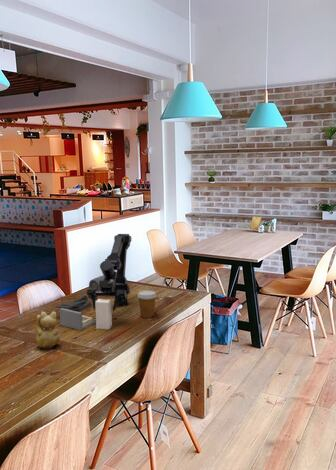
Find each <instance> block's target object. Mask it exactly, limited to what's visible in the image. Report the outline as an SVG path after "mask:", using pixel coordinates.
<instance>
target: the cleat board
mask: <svg viewBox="0 0 336 470" xmlns="http://www.w3.org/2000/svg"><path fill="white" fill-rule="evenodd" d="M59 324H60V326H63V327H66V328H70V329H75V330H78V331H82V330H84V329H86V328H88V327H90V326H92V325H94V324H95V325H96V319H94V318H93V317H91V316H87V315H83V312H82V311H80V312H77V311H72V310H68V309H64V308H59Z"/></svg>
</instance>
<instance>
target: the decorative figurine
mask: <svg viewBox="0 0 336 470" xmlns="http://www.w3.org/2000/svg"><path fill="white" fill-rule="evenodd" d="M57 322H58V320H57V312H56V311H52V312H50V314H47V312H45V311H41V313H40V314H37V315H36V326H35V327H36V333H37V334H36V337H35V341H36V344H37V345H36V346H38V347H39V349H42V350H43V349H52V348H53V347H54V346H55V345H58V344H59V341H60V338H61V337H60V334H59V333H60V332H59V329H58V328H57V327H56V325H57Z"/></svg>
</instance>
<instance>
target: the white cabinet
mask: <svg viewBox="0 0 336 470" xmlns="http://www.w3.org/2000/svg"><path fill="white" fill-rule="evenodd" d="M95 307H96V309H95V320H96V323H95V325H96V326H95V327H96V330H110V329H111V327H112V326H113V320H112V299H111V298H97V301H96V302H95Z"/></svg>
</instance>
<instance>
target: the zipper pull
mask: <svg viewBox="0 0 336 470" xmlns="http://www.w3.org/2000/svg"><path fill="white" fill-rule="evenodd" d="M91 306H92V300H91V299H88V296H87V294H82V295H81V296H78V297H77V298H76V299H73V300H70V301H68V302H64V303H59V304H56V305H55V308H57V309H61V308H64V309H68V310H72V311H77V312H82V311H84V310H86V309H87V308H89V307H91Z"/></svg>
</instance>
